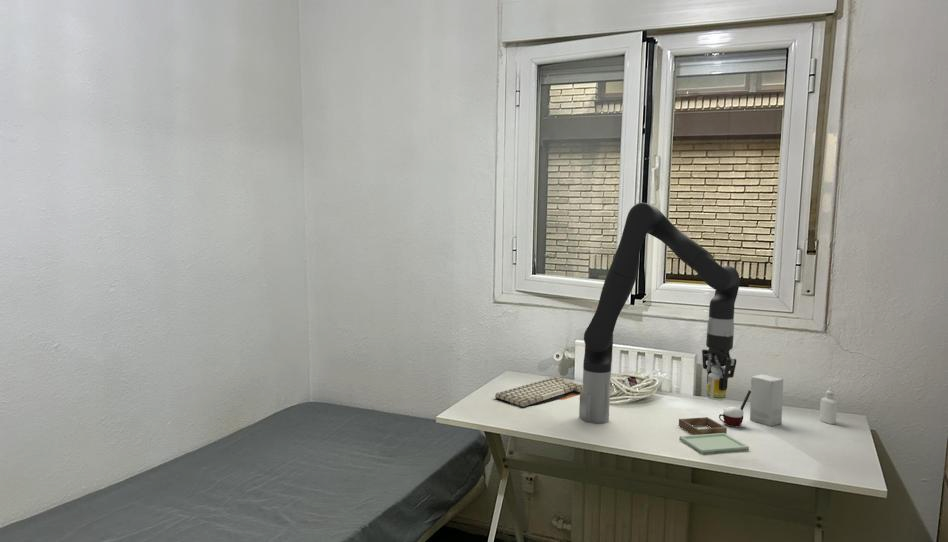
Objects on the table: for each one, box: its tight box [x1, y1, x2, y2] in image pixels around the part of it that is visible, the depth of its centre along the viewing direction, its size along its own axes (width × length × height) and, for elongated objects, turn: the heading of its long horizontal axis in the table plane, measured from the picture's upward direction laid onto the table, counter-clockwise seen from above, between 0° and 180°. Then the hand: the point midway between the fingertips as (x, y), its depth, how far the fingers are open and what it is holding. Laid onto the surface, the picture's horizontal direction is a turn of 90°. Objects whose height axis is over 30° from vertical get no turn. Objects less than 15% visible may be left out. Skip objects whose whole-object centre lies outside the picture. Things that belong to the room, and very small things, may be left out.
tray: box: [678, 432, 750, 455], centre depth 197 cm, size 16×12×1 cm
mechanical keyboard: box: [494, 376, 583, 408], centre depth 246 cm, size 38×19×3 cm, turn 135°
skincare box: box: [749, 373, 784, 427], centre depth 219 cm, size 8×7×16 cm
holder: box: [678, 416, 728, 435], centre depth 209 cm, size 11×11×2 cm
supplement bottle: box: [706, 366, 727, 402], centre depth 195 cm, size 5×5×10 cm
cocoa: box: [718, 389, 751, 428], centre depth 215 cm, size 10×6×12 cm, turn 59°
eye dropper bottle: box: [819, 387, 838, 425], centre depth 221 cm, size 4×6×12 cm
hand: (716, 387), depth 195 cm, fingers closed on supplement bottle, 5 cm apart
